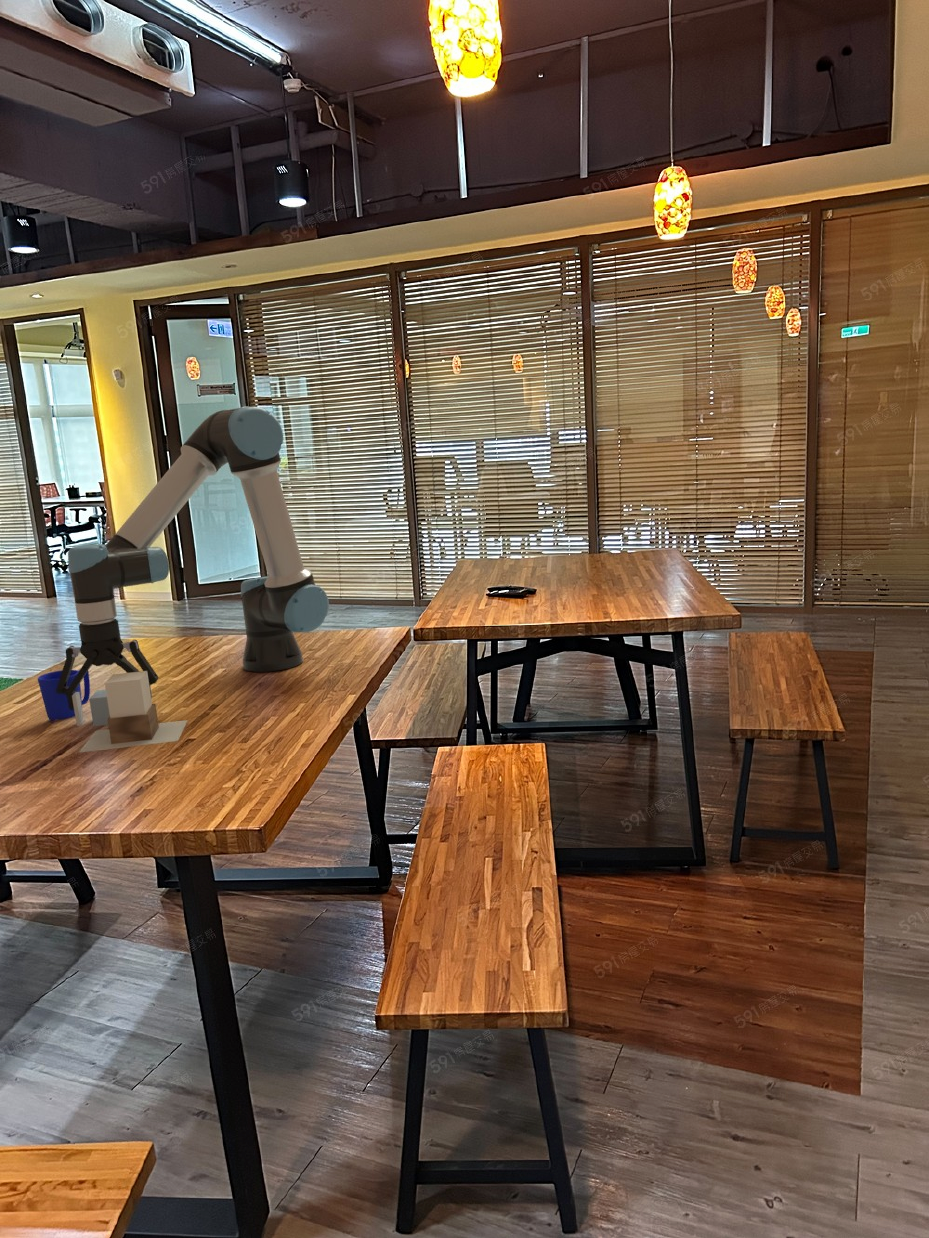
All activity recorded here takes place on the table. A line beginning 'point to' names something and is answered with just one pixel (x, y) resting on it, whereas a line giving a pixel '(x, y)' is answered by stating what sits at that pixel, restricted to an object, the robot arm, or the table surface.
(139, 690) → the brick
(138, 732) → the base brick
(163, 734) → the plate
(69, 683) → the mug
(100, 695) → the brick
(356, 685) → the table surface
